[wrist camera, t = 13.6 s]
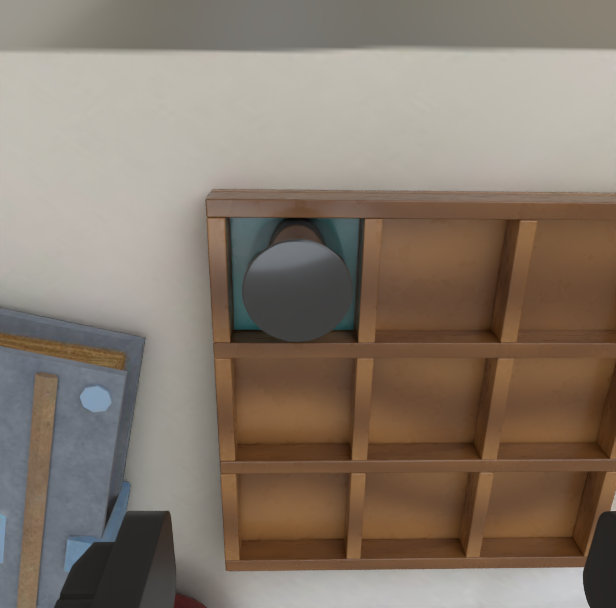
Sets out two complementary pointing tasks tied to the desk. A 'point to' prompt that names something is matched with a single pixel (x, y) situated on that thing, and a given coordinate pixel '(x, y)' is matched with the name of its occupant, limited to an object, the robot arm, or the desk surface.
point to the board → (422, 384)
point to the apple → (186, 602)
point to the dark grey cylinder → (296, 280)
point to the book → (60, 448)
